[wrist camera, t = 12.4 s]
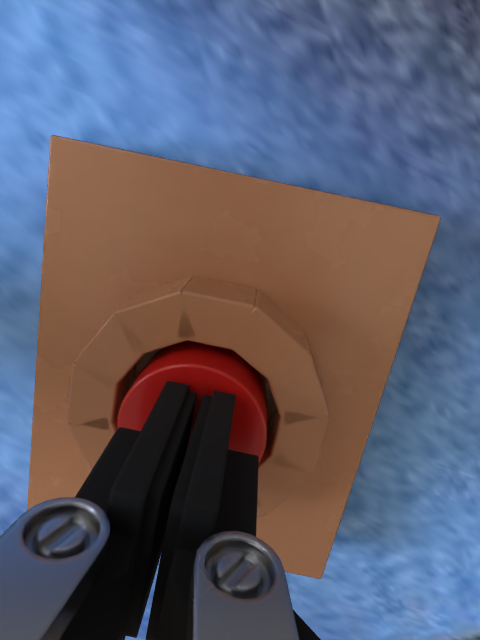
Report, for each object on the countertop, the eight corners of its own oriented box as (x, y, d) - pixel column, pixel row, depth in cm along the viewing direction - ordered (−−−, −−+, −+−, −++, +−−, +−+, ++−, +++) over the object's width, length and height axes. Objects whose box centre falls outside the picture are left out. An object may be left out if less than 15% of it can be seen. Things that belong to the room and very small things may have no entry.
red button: (145, 326, 12) (125, 349, 10) (280, 353, 12) (282, 382, 10) (129, 442, 13) (108, 481, 11) (252, 468, 13) (250, 510, 11)
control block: (84, 141, 13) (8, 124, 9) (414, 211, 13) (474, 222, 9) (56, 476, 17) (-7, 563, 13) (315, 530, 17) (329, 633, 13)
